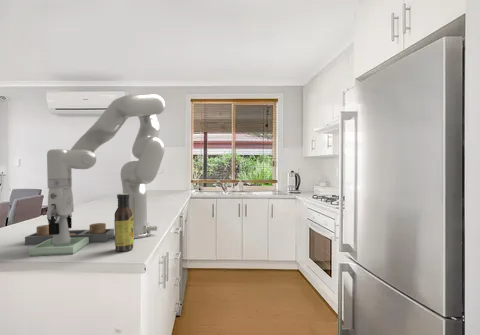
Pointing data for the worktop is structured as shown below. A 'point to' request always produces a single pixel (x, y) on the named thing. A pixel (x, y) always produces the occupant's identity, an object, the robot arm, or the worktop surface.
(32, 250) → the sage tray
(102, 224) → the oak peg
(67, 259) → the worktop surface
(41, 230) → the oak peg
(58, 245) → the salt shaker
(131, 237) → the sauce bottle
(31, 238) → the socket holder
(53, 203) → the robot arm
